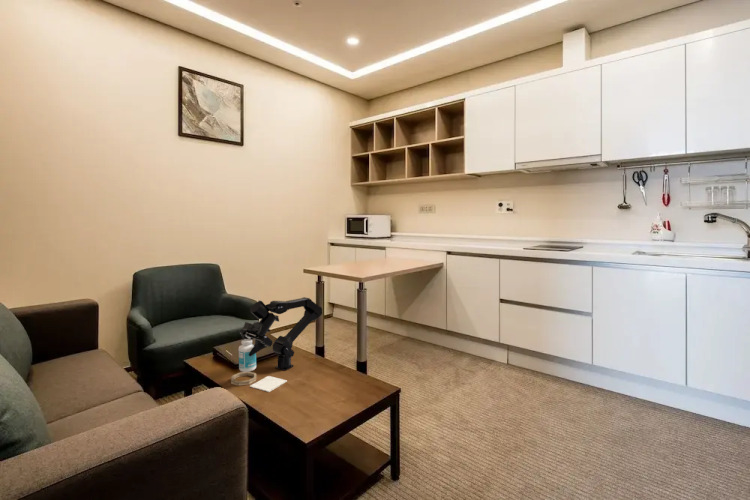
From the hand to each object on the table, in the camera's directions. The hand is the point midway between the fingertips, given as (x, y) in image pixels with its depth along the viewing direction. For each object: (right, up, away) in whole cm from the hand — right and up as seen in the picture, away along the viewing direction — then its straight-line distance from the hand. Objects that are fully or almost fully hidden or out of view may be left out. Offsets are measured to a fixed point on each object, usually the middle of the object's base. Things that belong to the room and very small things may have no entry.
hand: (244, 353), depth 168 cm
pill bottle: (+1, -8, +2) cm, 8 cm away
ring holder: (-2, -13, +3) cm, 14 cm away
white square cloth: (+11, -13, 0) cm, 17 cm away
